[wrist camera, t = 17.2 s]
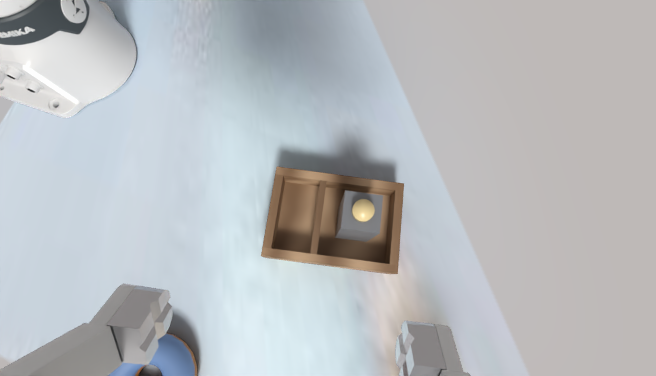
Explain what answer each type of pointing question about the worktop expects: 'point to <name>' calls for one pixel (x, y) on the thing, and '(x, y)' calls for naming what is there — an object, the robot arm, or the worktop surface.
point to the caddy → (329, 221)
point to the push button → (359, 216)
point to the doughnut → (165, 359)
